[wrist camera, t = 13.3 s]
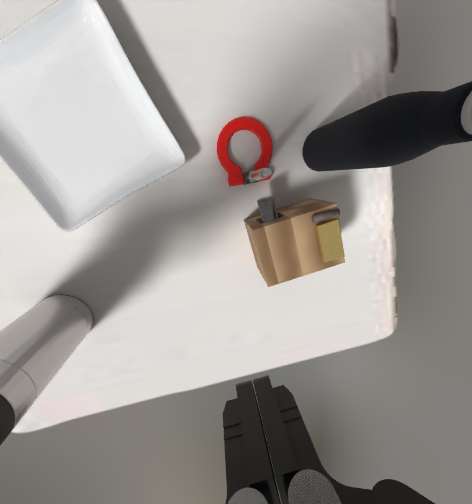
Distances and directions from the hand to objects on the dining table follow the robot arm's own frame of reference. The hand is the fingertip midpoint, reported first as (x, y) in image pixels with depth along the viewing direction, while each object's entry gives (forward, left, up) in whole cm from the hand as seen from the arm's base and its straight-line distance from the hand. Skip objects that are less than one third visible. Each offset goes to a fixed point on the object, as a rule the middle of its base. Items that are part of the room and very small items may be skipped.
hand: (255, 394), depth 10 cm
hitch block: (+11, -3, -30) cm, 32 cm away
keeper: (+15, -3, -22) cm, 26 cm away
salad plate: (-13, +20, -31) cm, 39 cm away
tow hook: (+8, +11, -30) cm, 33 cm away
